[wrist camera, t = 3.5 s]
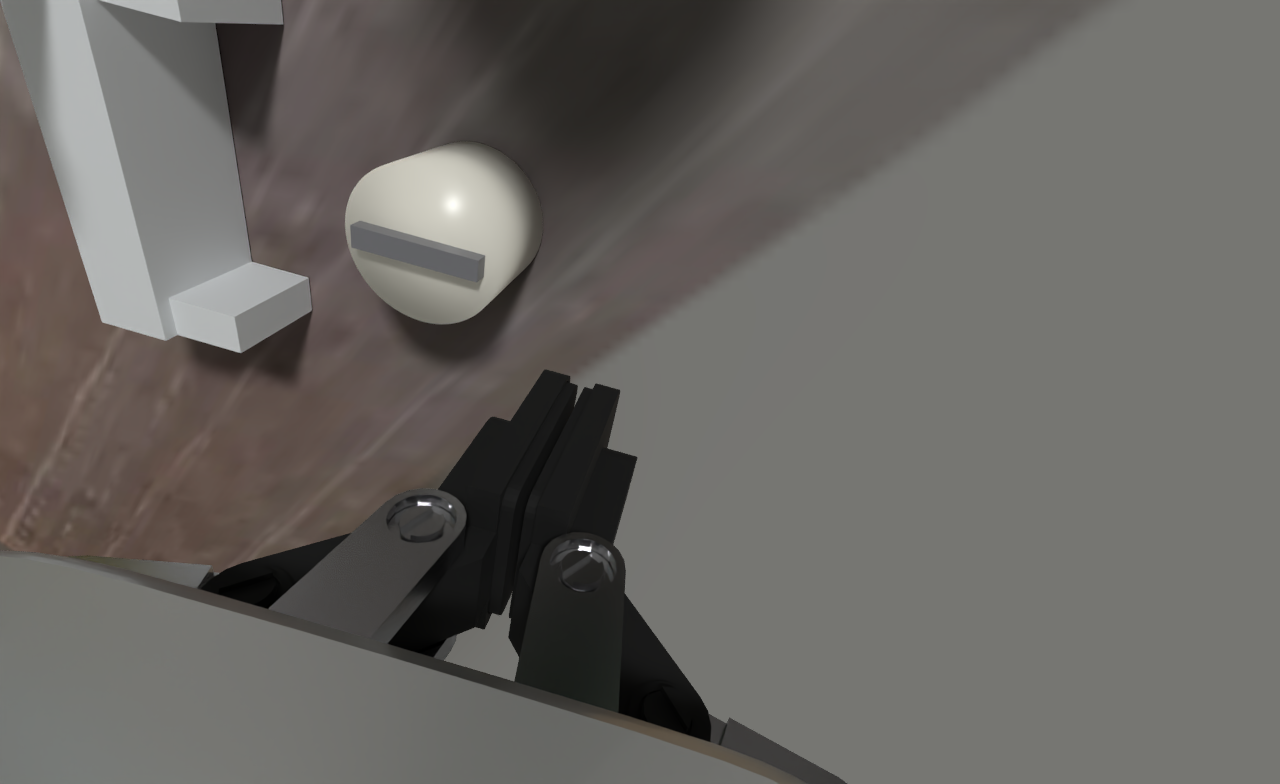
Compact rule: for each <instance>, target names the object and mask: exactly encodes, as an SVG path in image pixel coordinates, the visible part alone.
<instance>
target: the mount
mask: <svg viewBox="0 0 1280 784" xmlns="http://www.w3.org/2000/svg"><path fill="white" fill-rule="evenodd" d="M0 2H1V5H2V8H3V11H4V14H5V18H6V21H7V24H8V27H9V30H10V33H11V36H12V40H13V43H14V46H15V49H16V52H17V55H18V59H19V62H20V65H21V68H22V71H23V74H24V77H25V81H26V84H27V87H28V90H29V93H30V96H31V100H32V103H33V106H34V109H35V112H36V115H37V118H38V122H39V125H40V128H41V131H42V134H43V137H44V140H45V144H46V147H47V150H48V153H49V156H50V159H51V163H52V166H53V169H54V172H55V175H56V178H57V181H58V185H59V188H60V191H61V194H62V197H63V200H64V204H65V207H66V210H67V213H68V216H69V219H70V222H71V226H72V229H73V232H74V235H75V238H76V241H77V244H78V248H79V251H80V254H81V257H82V260H83V263H84V267H85V270H86V273H87V276H88V279H89V282H90V285H91V289H92V292H93V295H94V298H95V301H96V304H97V308H98V311H99V314H100V317H101V320H102V322H103V323H107V324H110V325H114V326H117V327H121V328H124V329H127V330H131V331H134V332H138V333H141V334H145V335H148V336H152V337H155V338H158V339H162V340H165V341H166V340H168V339H170V338H172V337H174V336H176V335H180V336H183V337H187V338H190V339H194V340H197V341H201V342H204V343H207V344H211V345H214V346H218V347H221V348H225V349H228V350H232V351H235V352H238V353H242V352H244V351H246V350H247V349H249V348H251V347H252V346H254V345H256V344H257V343H259V342H261V341H262V340H264V339H266V338H267V337H269V336H271V335H272V334H274V333H276V332H277V331H279V330H280V329H282V328H284V327H285V326H287V325H289V324H290V323H292V322H294V321H295V320H297V319H299V318H300V317H302V316H304V315H305V314H307V313H309V312H310V311H312V305H311V295H310V285H309V278H308V277H304V276H301V275H297V274H294V273H290V272H287V271H283V270H279V269H276V268H272V267H269V266H265V265H262V264H258V263H255V262H252V259H251V253H250V246H249V240H248V233H247V227H246V220H245V214H244V207H243V201H242V194H241V188H240V181H239V175H238V168H237V162H236V155H235V149H234V142H233V136H232V129H231V123H230V116H229V110H228V103H227V97H226V90H225V84H224V77H223V71H222V64H221V58H220V51H219V45H218V38H217V32H216V25H215V23H241V24H283V15H282V5H281V0H0Z"/></svg>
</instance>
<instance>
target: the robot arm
mask: <svg viewBox="0 0 1280 784" xmlns="http://www.w3.org/2000/svg"><path fill="white" fill-rule="evenodd" d="M577 388H578V386H577V385H575V384H572V383H570V376H568V375H564V374H560V373H557V372H553V371H550V370H544V371H543V372H542V374H541V376H540V377H539V379H538V380H537V382H536V383H535V385H534V386H533V388H532V389H531V391H530V392H529V394H528V395H527V397H526V398H525V400H524V401H523V403H522V404H521V406H520V407H519V409H518V410H517V412H516V414H515V415H514V417H513V418H512V420H511V421H507V420H504V419H500V418H497V417H491V418H490V419H489V420H488V421H487V422H486V423H485V425H484V426H483V428H482V429H481V430H480V432H479V433H478V434H477V436H476V437H475V439H474V440H473V441H472V443H471V444H470V446H469V447H468V448H467V450H466V451H465V453H464V454H463V455H462V457H461V458H460V459H459V461H458V462H457V464H456V465H455V466H454V468H453V469H452V471H451V472H450V473H449V475H448V476H447V478H446V479H445V480H444V482H443V483H442V484H441V486H440V487H439V489H438V490H436V489H423V488H421V489H415V490H408V491H406V492H403V493H400V494H398V495H395V496H394V497H393V498H391V499H390V500H388V501H387V502H385V503H384V504H383V505H382V506H381V507H380V508H379V509H378V510H377V511H375V512H374V513H373V514H372V515H371V516H370V517H369V518H368V519H367V520H365V521H364V522H363V523H362V524H361V525H360V526H359V527H358V528H357V529H356V530H354V531H353V532H352V533H349V534H346V535H342V536H339V537H335V538H331V539H328V540H324V541H320V542H317V543H313V544H310V545H306V546H302V547H299V548H295V549H292V550H288V551H284V552H281V553H277V554H273V555H270V556H266V557H263V558H259V559H255V560H252V561H248V562H244V563H241V564H239V565H236V566H233V567H231V568H228V569H226V570H224V571H223V572H221V573H214V572H213V568H212V566H211V565H198V564H186V563H173V562H161V561H149V560H136V559H124V558H111V557H99V556H69V557H64V556H57V555H50V554H43V553H37V552H22V551H6V550H0V784H847V783H845V782H844V781H843V780H841V779H840V778H839V777H837V776H835V775H833V774H831V773H829V772H828V771H826V770H824V769H822V768H820V767H819V766H817V765H815V764H813V763H811V762H809V761H808V760H806V759H804V758H802V757H800V756H798V755H797V754H795V753H793V752H791V751H789V750H787V749H786V748H784V747H782V746H780V745H778V744H777V743H774V742H773V741H771V740H769V739H767V738H766V737H764V736H762V735H760V734H758V733H756V732H755V731H753V730H751V729H749V728H747V727H745V726H744V725H742V724H740V723H738V722H736V721H734V720H733V719H731V718H729V720H728V722H727V723H724V722H722V721H721V720H719V719H717V718H715V717H713V716H712V715H710V714H708V710H707V708H706V707H705V705H704V703H703V701H702V699H701V698H700V696H699V695H698V693H697V692H696V691H695V689H694V688H693V686H692V685H691V684H690V682H689V681H688V680H687V678H686V677H685V675H684V674H683V673H682V671H681V670H680V669H679V667H678V666H677V664H676V663H675V662H674V660H673V659H672V658H671V656H670V655H669V654H668V652H667V651H666V649H665V648H664V647H663V645H662V644H661V643H660V641H659V640H658V638H657V637H656V636H655V634H654V633H653V632H652V630H651V629H650V628H649V626H648V625H647V623H646V622H645V621H644V619H643V618H642V617H641V615H640V614H639V612H638V611H637V610H636V608H635V607H634V606H633V604H632V603H631V601H630V600H629V599H628V597H627V596H626V595H625V593H624V592H625V575H626V574H625V573H626V570H625V563H624V559H623V557H622V556H621V554H620V552H619V550H618V549H617V548H616V547H615V546H614V545H613V543H614V540H615V536H616V533H617V529H618V526H619V522H620V518H621V515H622V512H623V508H624V504H625V501H626V497H627V494H628V490H629V486H630V483H631V479H632V476H633V472H634V468H635V464H636V461H637V457H636V456H632V455H628V454H625V453H621V452H618V451H614V450H611V449H607V447H608V442H609V438H610V434H611V430H612V425H613V421H614V417H615V412H616V408H617V404H618V399H619V395H620V390H618V389H614V388H611V387H607V386H603V385H600V384H595V386H594V388H593V389H589V388H586V387H584V389H583V391H582V393H581V395H580V397H579V399H578V401H577V403H576V405H575V400H576V394H577ZM574 405H575V407H574ZM512 591H513V592H512ZM511 593H512V599H511V605H510V613H509V618H511V624H510V631H509V639H510V641H511V643H512V645H513V647H514V648H515V650H516V652H517V654H518V656H519V662H518V667H517V672H516V677H515V681H514V682H513V681H510V680H507V679H503V678H500V677H497V676H494V675H490V674H487V673H483V672H480V671H477V670H473V669H470V668H467V667H463V666H459V665H456V664H453V663H450V662H446V661H444V659H445V658H446V657H447V655H448V654H449V652H450V651H451V649H452V647H453V645H454V643H455V641H456V635H457V634H460V633H462V632H464V631H467V630H469V629H472V628H474V627H477V628H481V629H485V627H486V625H487V623H488V621H489V619H490V616H491V614H492V613H494V614H498V615H501V614H502V613H503V611H504V609H505V607H506V605H507V602H508V600H509V598H510V596H511Z"/></svg>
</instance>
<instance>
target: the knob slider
mask: <svg viewBox="0 0 1280 784" xmlns="http://www.w3.org/2000/svg"><path fill="white" fill-rule="evenodd" d="M345 230H346V238H347V242H348V246H349V250H350V252H351V255H352V258H353V260H354V262H355V264H356V266H357V268H358V270H359V272H360V273H361V275H362V277H363V278H364V280H365V281H366V282H367V283H368V285H369V286H370V287H371V288H372V290H373V291H374V292H375V293H376V294H377V295H378V296H379V297H380V298H381V299H383V300H384V301H385V302H386V303H387V304H389V305H390V306H391V307H393V308H394V309H396V310H397V311H399V312H401V313H402V314H404V315H407V316H409V317H411V318H413V319H416V320H419V321H422V322H427V323H432V324H453V323H458V322H461V321H464V320H467V319H469V318H471V317H473V316H475V315H476V314H477V313H479V312H480V311H481V310H482V309H483V308H484V307H485V306H487V305H488V304H489V303H490V302H491V301H492V300H493V299H494V298H495V297H496V296H497V295H498V294H499V293H500V292H501V291H502V290H503V289H504V288H505V287H506V286H507V285H509V284H510V283H511V282H512V281H513V280H514V279H515V278H516V277H517V276H518V275H519V274H520V273H521V272H522V271H523V270H524V269H525V268H526V267H527V266H528V265H529V264H530V263H531V262H532V260H533V259H534V257H535V256H536V254H537V252H538V250H539V247H540V244H541V240H542V235H543V214H542V209H541V205H540V202H539V198H538V196H537V193H536V191H535V189H534V187H533V185H532V183H531V182H530V180H529V178H528V177H527V176H526V174H525V173H524V172H523V170H522V169H521V168H520V167H519V166H518V165H517V164H516V163H515V162H514V161H513V160H511V159H510V158H509V157H508V156H506V155H505V154H503V153H502V152H500V151H499V150H497V149H495V148H493V147H491V146H488V145H485V144H482V143H477V142H472V141H458V142H452V143H448V144H445V145H442V146H439V147H436V148H433V149H430V150H427V151H424V152H421V153H418V154H415V155H412V156H409V157H406V158H403V159H400V160H397V161H394V162H391V163H388V164H385V165H382V166H380V167H378V168H376V169H373V170H372V171H370V172H369V173H368V174H366V175H365V176H364V177H363V178H362V179H361V180H360V181H359V182H358V183H357V185H356V186H355V188H354V189H353V191H352V193H351V195H350V198H349V201H348V204H347V208H346V215H345Z"/></svg>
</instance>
